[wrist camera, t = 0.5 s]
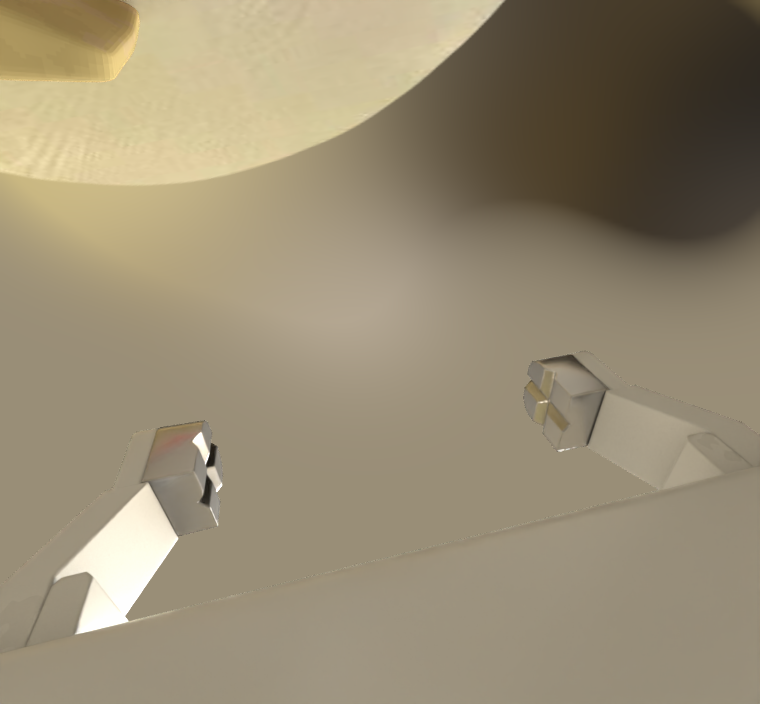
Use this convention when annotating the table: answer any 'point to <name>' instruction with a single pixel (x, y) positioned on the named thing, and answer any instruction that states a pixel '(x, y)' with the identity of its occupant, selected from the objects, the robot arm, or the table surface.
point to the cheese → (66, 39)
